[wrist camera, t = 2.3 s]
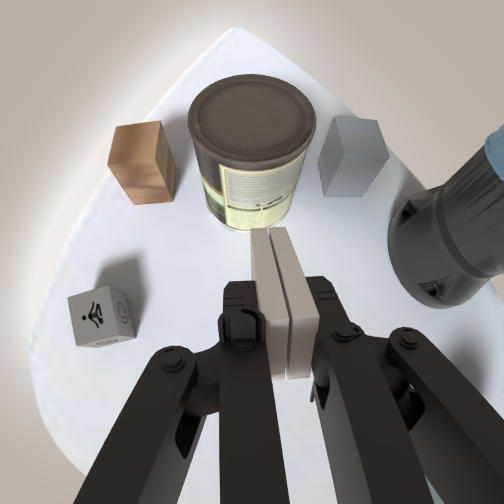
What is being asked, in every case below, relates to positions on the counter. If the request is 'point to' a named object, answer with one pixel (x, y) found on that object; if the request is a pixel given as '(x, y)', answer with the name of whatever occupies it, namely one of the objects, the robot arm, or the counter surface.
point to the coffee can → (250, 148)
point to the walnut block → (143, 163)
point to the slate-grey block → (351, 157)
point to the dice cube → (101, 317)
